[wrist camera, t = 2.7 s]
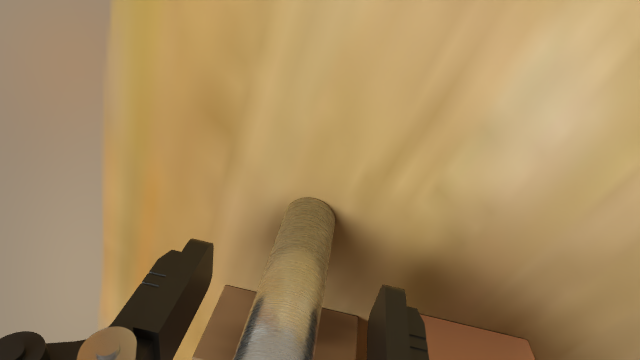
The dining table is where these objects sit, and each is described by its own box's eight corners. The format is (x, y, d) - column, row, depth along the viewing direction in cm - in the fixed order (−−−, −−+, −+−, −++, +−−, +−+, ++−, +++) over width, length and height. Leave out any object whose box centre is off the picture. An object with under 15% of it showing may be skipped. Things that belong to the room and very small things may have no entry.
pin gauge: (340, 204, 15) (294, 513, 7) (329, 243, 16) (279, 546, 8) (288, 192, 15) (180, 484, 7) (282, 231, 16) (182, 522, 8)
